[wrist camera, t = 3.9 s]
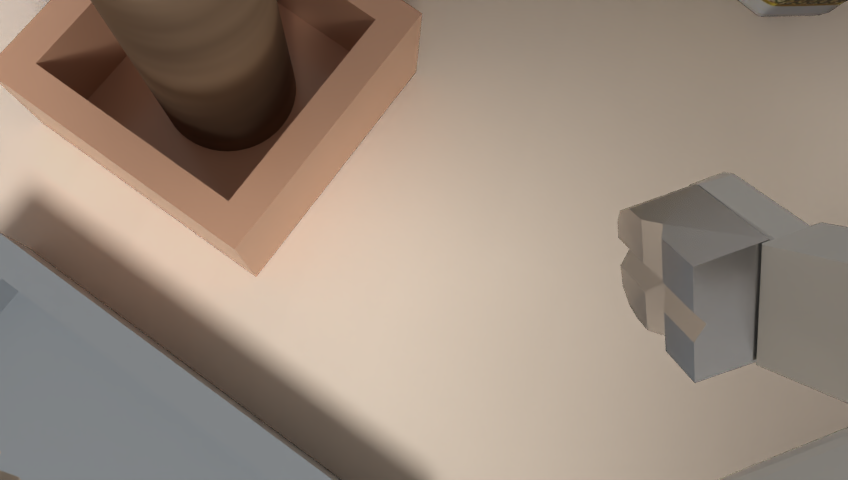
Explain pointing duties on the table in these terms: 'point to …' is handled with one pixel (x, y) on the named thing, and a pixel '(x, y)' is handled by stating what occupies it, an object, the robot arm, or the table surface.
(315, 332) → the table surface
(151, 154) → the holder cup
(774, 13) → the ceramic cup
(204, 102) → the canister
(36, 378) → the tray
